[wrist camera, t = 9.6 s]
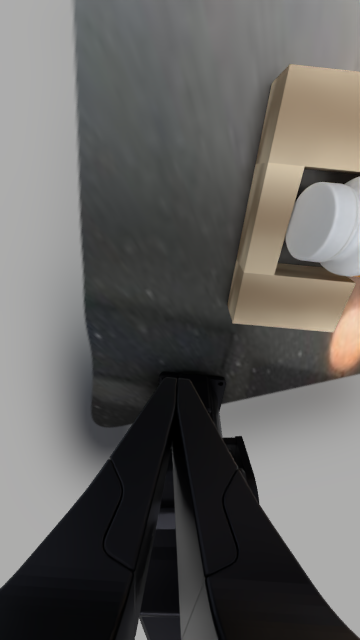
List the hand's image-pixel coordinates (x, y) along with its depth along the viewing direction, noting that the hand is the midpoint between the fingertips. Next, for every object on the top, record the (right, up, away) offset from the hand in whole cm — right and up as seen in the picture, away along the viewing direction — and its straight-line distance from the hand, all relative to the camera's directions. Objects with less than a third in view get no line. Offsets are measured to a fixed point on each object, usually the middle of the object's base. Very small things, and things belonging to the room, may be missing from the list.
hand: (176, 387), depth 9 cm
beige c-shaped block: (+8, +9, +9) cm, 16 cm away
